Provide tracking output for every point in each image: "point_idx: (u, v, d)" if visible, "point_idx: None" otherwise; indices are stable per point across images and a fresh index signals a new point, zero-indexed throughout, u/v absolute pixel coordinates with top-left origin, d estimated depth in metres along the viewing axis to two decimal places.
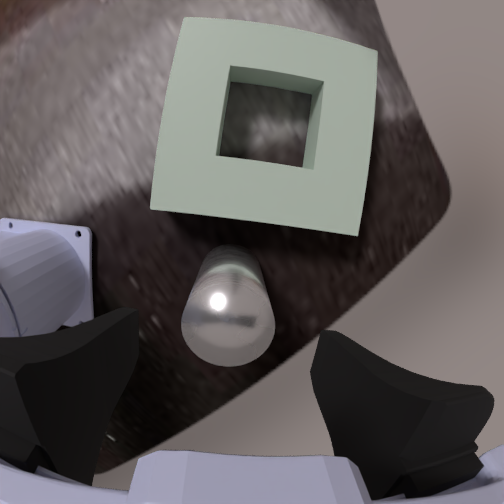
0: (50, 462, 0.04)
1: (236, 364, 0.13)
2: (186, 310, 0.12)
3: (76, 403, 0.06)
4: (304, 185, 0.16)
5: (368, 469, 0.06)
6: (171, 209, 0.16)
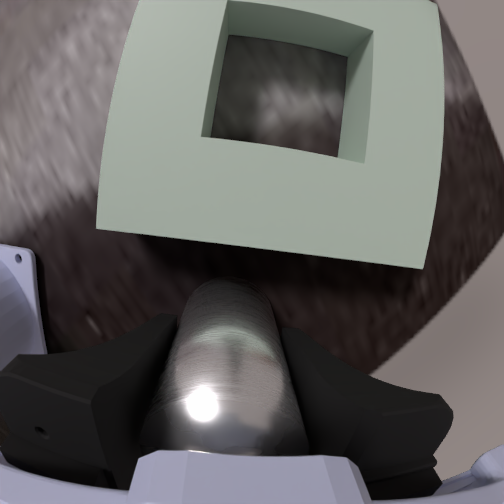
0: (113, 484, 0.04)
1: None
2: (145, 432, 0.06)
3: (133, 418, 0.06)
4: (350, 189, 0.10)
5: None
6: (128, 229, 0.10)
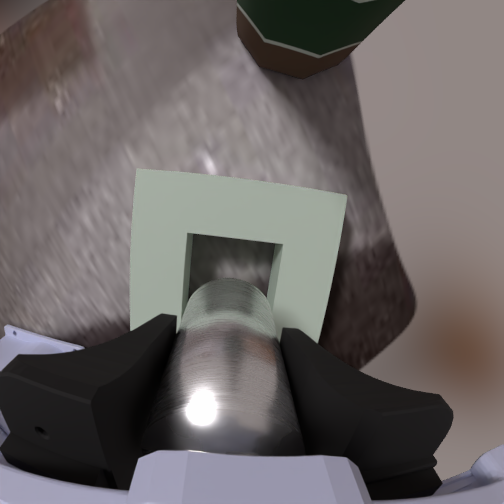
0: (113, 484, 0.04)
1: None
2: (147, 437, 0.06)
3: (133, 418, 0.06)
4: None
5: None
6: None
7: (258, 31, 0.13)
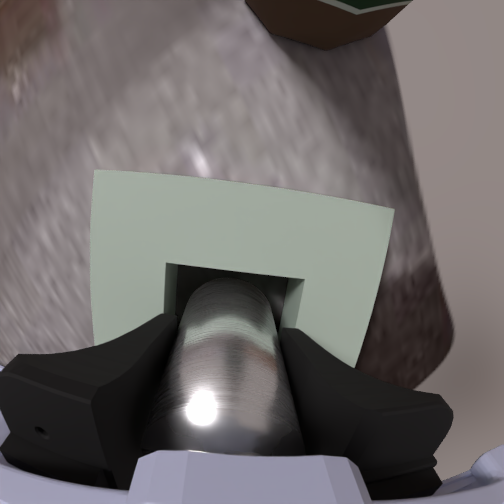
0: (113, 484, 0.04)
1: None
2: (147, 437, 0.06)
3: (133, 418, 0.06)
4: None
5: None
6: None
7: None
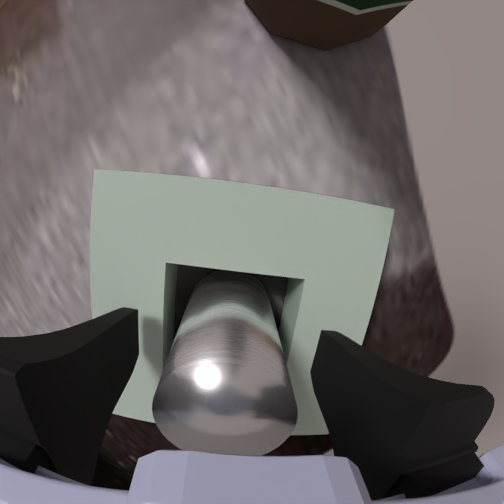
0: (50, 462, 0.04)
1: None
2: (158, 395, 0.07)
3: (76, 403, 0.06)
4: None
5: (368, 469, 0.06)
6: (126, 415, 0.13)
7: None
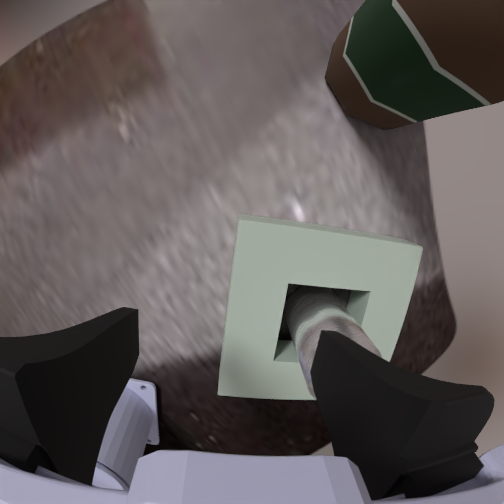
0: (50, 462, 0.04)
1: None
2: None
3: (76, 403, 0.06)
4: None
5: (368, 469, 0.06)
6: (235, 395, 0.19)
7: (366, 90, 0.14)
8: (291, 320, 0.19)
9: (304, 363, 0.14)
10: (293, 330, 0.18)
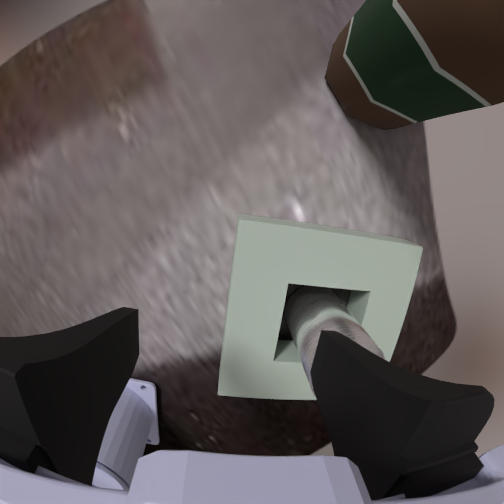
0: (50, 462, 0.04)
1: None
2: None
3: (76, 403, 0.06)
4: None
5: (368, 469, 0.06)
6: (235, 395, 0.19)
7: (366, 90, 0.14)
8: (292, 321, 0.19)
9: (307, 364, 0.14)
10: (294, 331, 0.18)
